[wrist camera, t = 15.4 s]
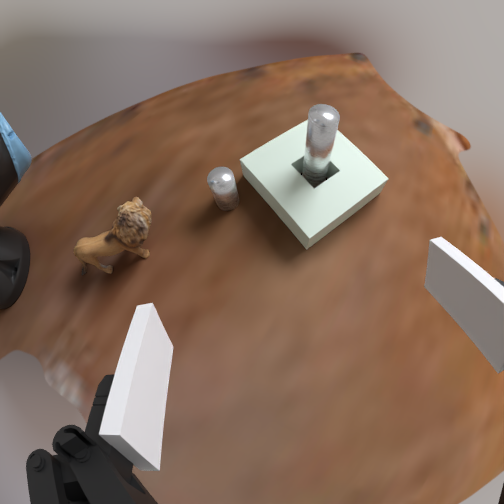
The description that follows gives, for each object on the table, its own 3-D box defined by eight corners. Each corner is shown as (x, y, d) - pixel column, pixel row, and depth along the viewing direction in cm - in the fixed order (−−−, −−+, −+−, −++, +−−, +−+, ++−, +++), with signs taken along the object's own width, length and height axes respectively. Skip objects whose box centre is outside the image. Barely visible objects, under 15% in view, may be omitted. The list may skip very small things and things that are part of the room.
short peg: (212, 199, 41) (202, 176, 36) (230, 186, 42) (224, 162, 36) (224, 215, 40) (216, 193, 35) (243, 202, 41) (238, 179, 35)
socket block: (243, 175, 42) (240, 159, 38) (316, 130, 44) (318, 113, 40) (306, 249, 38) (309, 238, 34) (380, 193, 40) (388, 178, 36)
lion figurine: (160, 214, 41) (134, 183, 33) (173, 245, 40) (147, 218, 31) (80, 261, 40) (44, 241, 32) (88, 292, 39) (50, 277, 30)
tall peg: (296, 181, 41) (302, 111, 28) (313, 170, 42) (324, 100, 28) (311, 197, 40) (323, 130, 27) (328, 185, 41) (345, 117, 27)
